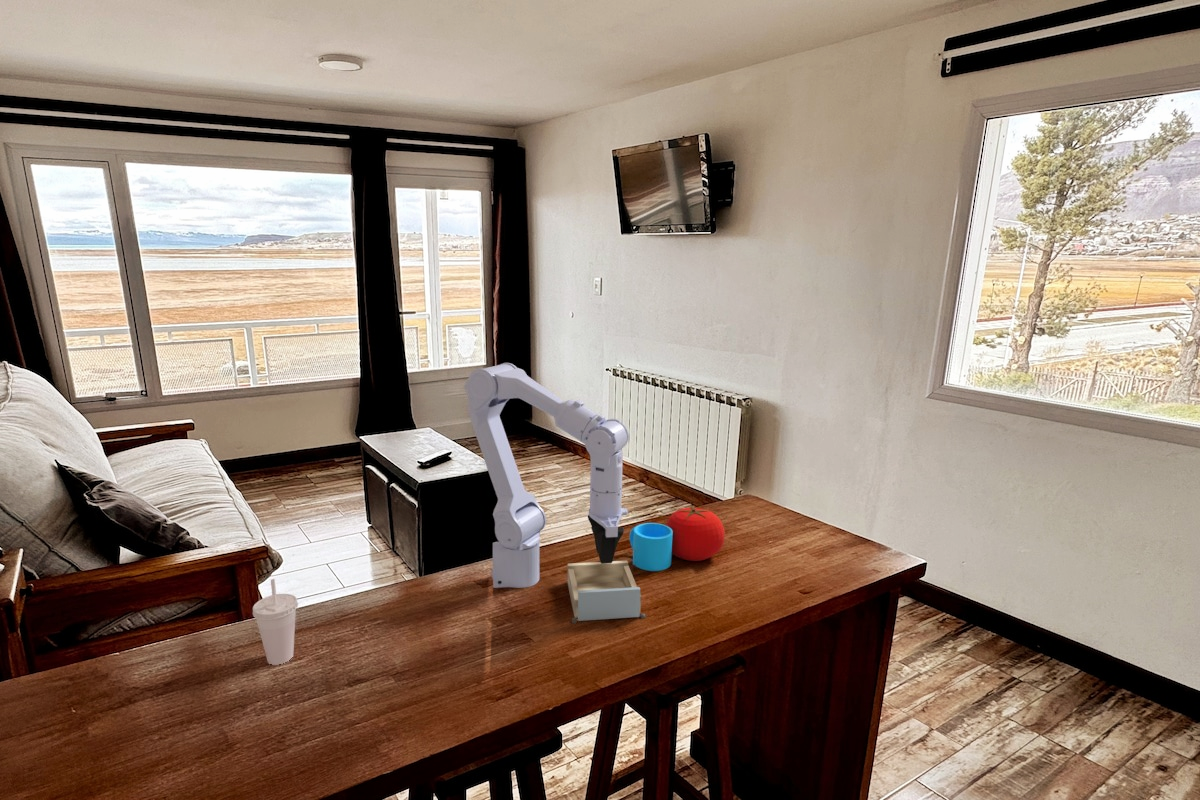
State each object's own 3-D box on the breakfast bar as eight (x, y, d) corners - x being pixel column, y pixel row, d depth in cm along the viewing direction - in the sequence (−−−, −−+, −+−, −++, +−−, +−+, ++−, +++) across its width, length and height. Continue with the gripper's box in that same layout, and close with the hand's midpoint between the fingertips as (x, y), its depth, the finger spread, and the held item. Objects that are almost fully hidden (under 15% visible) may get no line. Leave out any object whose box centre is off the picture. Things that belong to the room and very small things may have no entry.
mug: (678, 569, 134) (680, 533, 132) (648, 579, 130) (649, 542, 128) (644, 548, 144) (646, 514, 142) (615, 556, 139) (616, 521, 138)
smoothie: (257, 675, 97) (248, 592, 94) (258, 652, 103) (249, 573, 100) (303, 663, 100) (296, 583, 97) (301, 642, 106) (294, 565, 103)
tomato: (654, 548, 143) (656, 503, 141) (704, 540, 148) (707, 496, 146) (679, 572, 132) (682, 523, 130) (733, 563, 137) (736, 515, 135)
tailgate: (578, 620, 112) (578, 592, 110) (577, 618, 112) (578, 590, 111) (639, 616, 113) (640, 589, 112) (638, 614, 114) (639, 587, 113)
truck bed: (572, 628, 112) (572, 602, 110) (564, 586, 126) (564, 563, 125) (645, 623, 114) (646, 597, 112) (629, 583, 128) (630, 560, 127)
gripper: (636, 501, 108) (633, 575, 110) (620, 473, 122) (618, 539, 124) (594, 503, 106) (593, 577, 109) (584, 475, 120) (583, 541, 123)
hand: (604, 557), depth 117 cm, fingers open, 3 cm apart
